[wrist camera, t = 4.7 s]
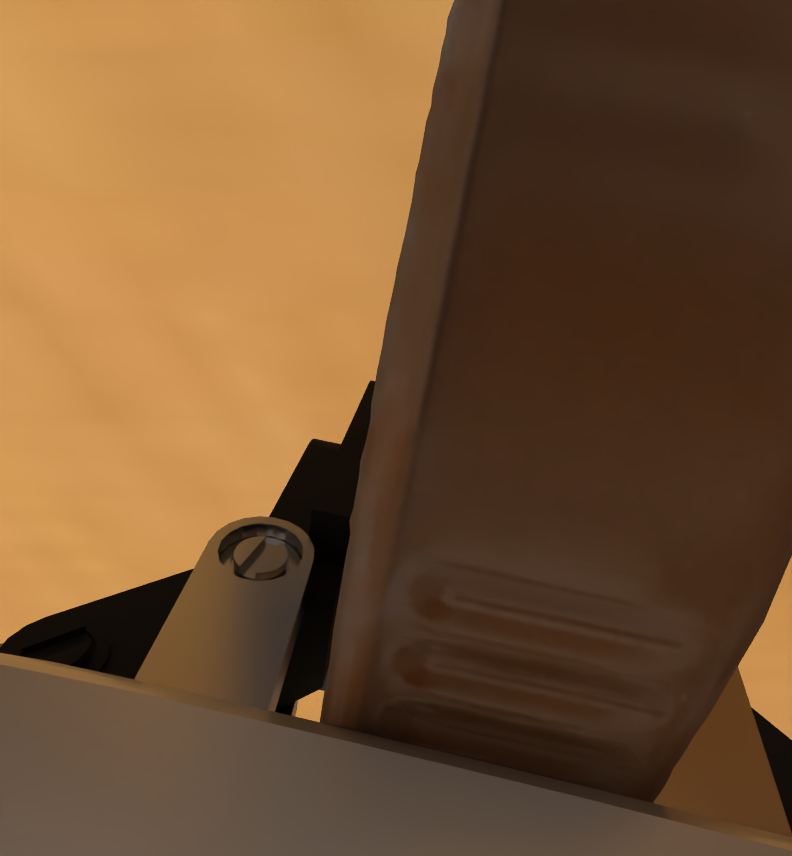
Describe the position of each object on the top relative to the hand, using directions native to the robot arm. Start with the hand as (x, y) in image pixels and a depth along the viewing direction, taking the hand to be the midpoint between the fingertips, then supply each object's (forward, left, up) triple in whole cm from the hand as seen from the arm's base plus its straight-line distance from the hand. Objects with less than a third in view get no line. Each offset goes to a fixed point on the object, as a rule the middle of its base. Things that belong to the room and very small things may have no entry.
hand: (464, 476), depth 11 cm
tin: (0, 0, -1) cm, 2 cm away
